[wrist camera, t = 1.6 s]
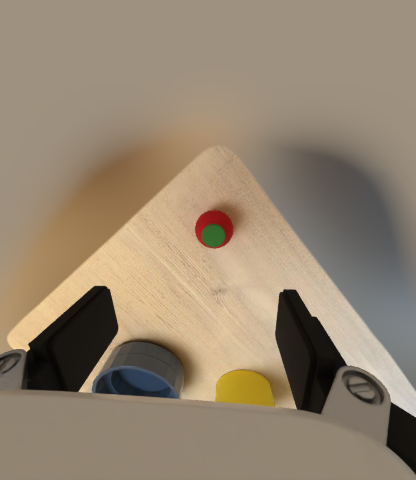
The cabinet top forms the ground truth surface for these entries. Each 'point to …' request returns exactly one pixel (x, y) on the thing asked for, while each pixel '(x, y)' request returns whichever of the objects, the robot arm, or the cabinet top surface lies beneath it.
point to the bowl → (141, 372)
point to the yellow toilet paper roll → (244, 389)
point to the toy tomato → (214, 229)
